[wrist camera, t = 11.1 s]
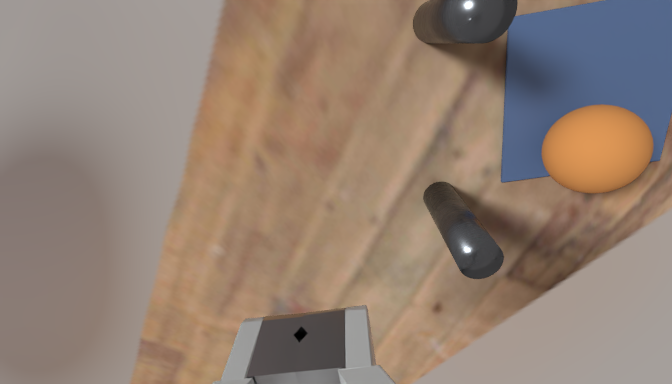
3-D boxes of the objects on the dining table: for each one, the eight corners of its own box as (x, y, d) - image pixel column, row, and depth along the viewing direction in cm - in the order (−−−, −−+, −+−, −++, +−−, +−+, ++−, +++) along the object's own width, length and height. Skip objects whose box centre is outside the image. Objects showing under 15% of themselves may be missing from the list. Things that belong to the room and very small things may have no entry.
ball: (656, 203, 22) (607, 202, 19) (563, 185, 27) (515, 182, 25) (684, 110, 21) (637, 96, 18) (581, 110, 26) (533, 99, 23)
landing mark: (657, 159, 26) (659, 160, 26) (500, 181, 27) (501, 182, 27) (700, -17, 21) (703, -18, 21) (508, 17, 22) (509, 17, 22)
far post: (455, 207, 28) (502, 276, 20) (424, 211, 28) (458, 281, 20) (454, 179, 27) (504, 239, 19) (422, 184, 27) (458, 245, 19)
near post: (452, 39, 23) (515, 37, 14) (414, 46, 23) (455, 47, 15) (451, -4, 22) (519, -33, 13) (411, 3, 22) (454, -20, 14)
